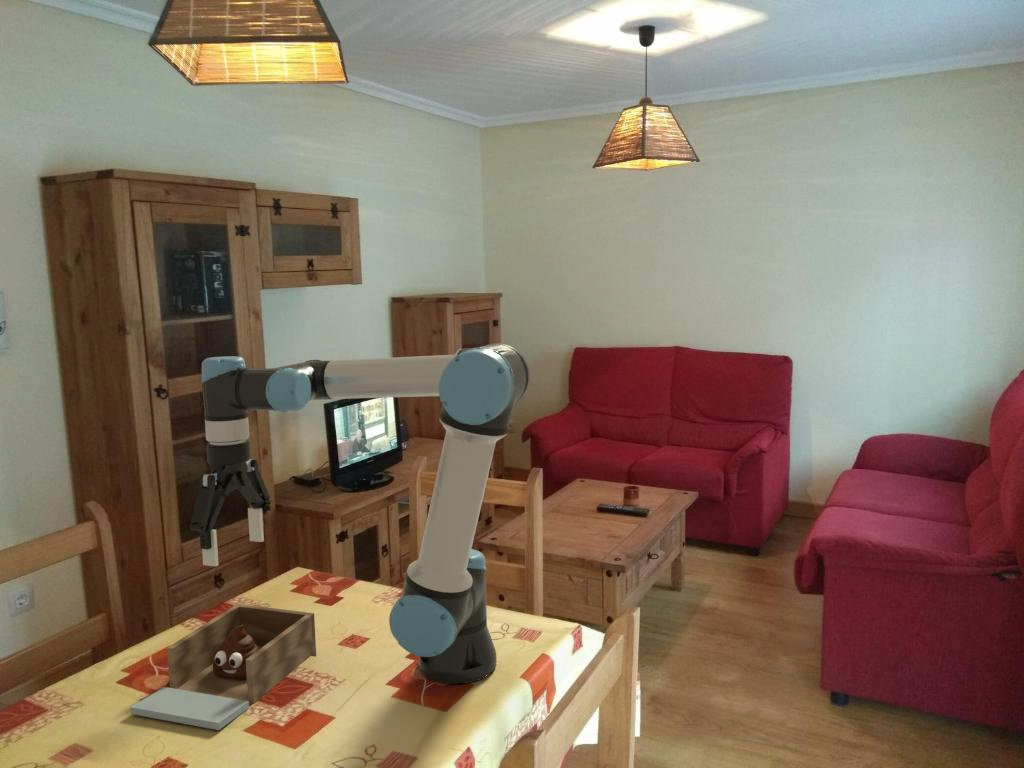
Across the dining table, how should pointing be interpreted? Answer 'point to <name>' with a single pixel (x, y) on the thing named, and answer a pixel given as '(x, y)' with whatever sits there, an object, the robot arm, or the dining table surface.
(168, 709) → the door
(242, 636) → the poop emoji
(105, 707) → the dining table surface
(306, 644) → the box
